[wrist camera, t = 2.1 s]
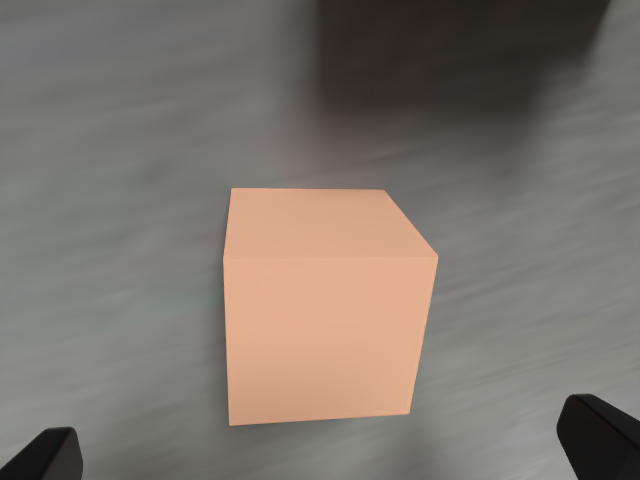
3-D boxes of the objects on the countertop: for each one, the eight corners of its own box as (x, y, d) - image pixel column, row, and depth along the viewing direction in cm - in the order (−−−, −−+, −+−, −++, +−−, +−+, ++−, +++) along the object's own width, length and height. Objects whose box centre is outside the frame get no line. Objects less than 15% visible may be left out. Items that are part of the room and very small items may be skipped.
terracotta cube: (235, 317, 15) (229, 425, 11) (231, 187, 13) (223, 259, 9) (367, 313, 16) (409, 414, 12) (383, 188, 14) (438, 256, 10)
